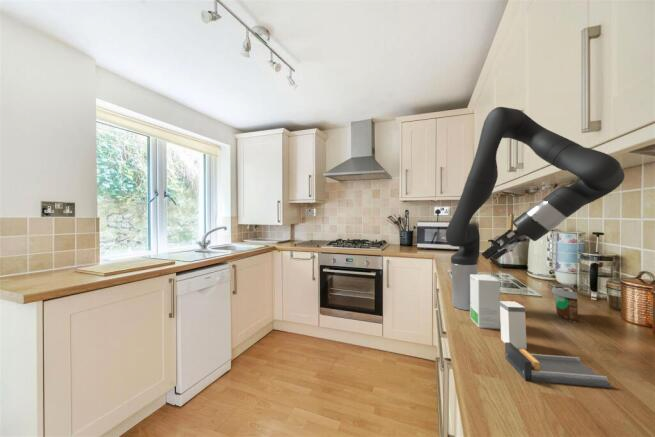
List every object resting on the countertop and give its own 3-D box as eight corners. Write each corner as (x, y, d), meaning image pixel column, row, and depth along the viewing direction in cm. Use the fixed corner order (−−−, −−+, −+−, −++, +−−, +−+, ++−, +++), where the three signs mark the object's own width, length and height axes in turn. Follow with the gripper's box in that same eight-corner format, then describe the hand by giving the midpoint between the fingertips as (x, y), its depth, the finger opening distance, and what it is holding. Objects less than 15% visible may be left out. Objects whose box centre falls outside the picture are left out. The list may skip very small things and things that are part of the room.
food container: (551, 309, 96) (550, 282, 96) (574, 312, 92) (573, 285, 93) (553, 319, 87) (552, 290, 87) (578, 323, 83) (577, 292, 83)
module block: (501, 339, 74) (499, 301, 74) (516, 340, 73) (515, 301, 73) (509, 347, 69) (508, 306, 69) (526, 349, 68) (525, 307, 68)
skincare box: (470, 318, 90) (468, 274, 90) (490, 319, 88) (489, 274, 88) (479, 328, 81) (477, 279, 82) (502, 329, 80) (500, 279, 80)
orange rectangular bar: (520, 357, 62) (519, 348, 62) (524, 357, 61) (524, 349, 61) (534, 371, 56) (534, 362, 56) (539, 371, 55) (539, 362, 56)
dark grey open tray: (505, 358, 64) (505, 342, 64) (576, 363, 60) (576, 346, 60) (525, 380, 55) (524, 361, 55) (610, 388, 52) (609, 368, 52)
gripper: (531, 214, 77) (486, 248, 85) (521, 207, 68) (471, 246, 75) (554, 232, 73) (504, 267, 80) (547, 227, 63) (491, 267, 71)
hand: (488, 257), depth 78 cm, fingers open, 8 cm apart
